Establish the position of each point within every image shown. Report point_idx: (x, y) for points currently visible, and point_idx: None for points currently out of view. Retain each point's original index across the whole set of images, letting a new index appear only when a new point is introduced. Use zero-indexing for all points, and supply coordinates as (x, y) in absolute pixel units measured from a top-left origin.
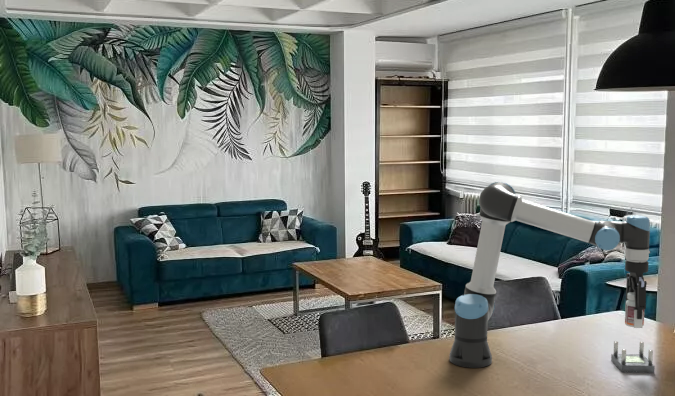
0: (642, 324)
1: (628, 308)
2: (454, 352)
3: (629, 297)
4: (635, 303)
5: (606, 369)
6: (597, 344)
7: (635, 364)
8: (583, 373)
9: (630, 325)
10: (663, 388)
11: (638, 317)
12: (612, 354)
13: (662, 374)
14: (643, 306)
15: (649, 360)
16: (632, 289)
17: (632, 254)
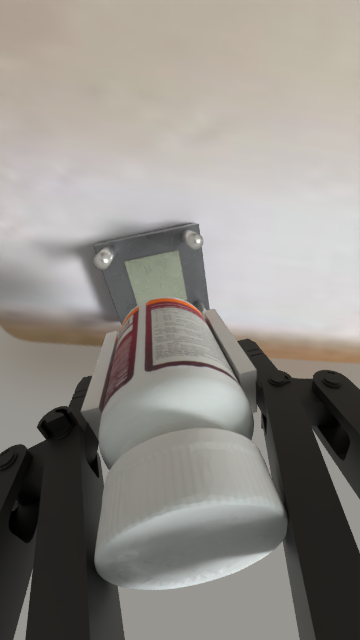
0: None
1: (126, 368)
2: None
3: (130, 476)
4: (70, 466)
5: (105, 197)
6: (337, 195)
7: (116, 285)
8: (22, 94)
9: (124, 320)
10: (18, 330)
11: (78, 389)
12: (193, 226)
13: None
14: (17, 501)
15: None
16: (301, 597)
17: None
